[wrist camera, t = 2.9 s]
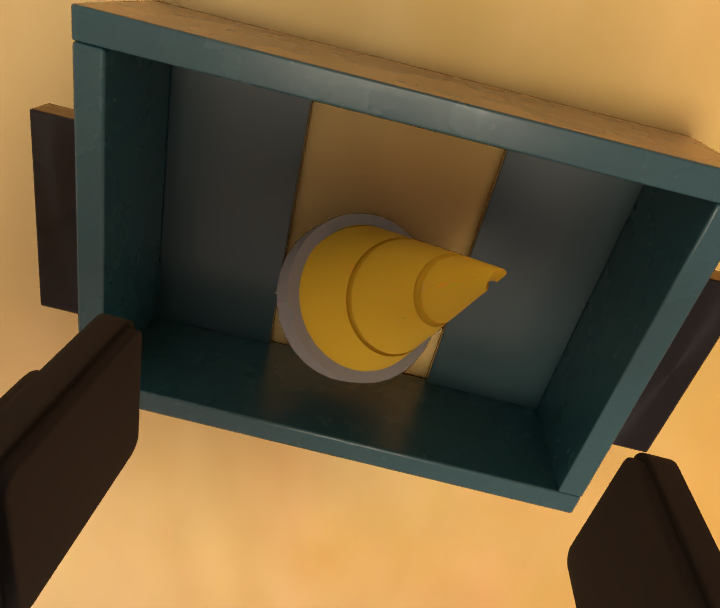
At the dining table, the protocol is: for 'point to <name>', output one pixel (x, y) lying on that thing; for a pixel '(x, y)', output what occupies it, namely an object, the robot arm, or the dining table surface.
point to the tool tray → (271, 233)
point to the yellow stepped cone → (371, 296)
